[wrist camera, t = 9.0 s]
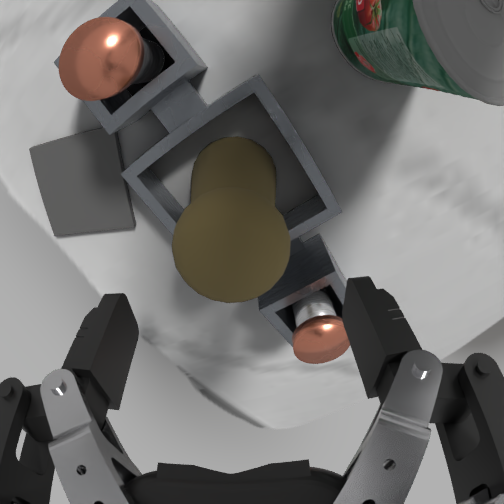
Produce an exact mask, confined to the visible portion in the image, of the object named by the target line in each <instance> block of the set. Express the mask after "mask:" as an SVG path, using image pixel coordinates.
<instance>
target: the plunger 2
mask: <svg viewBox="0 0 504 504" xmlns="http://www.w3.org/2000/svg"><path fill="white" fill-rule="evenodd" d="M292 306H293V311H294V316H295V321H296V326H297V328H296V329H295V331H294V332H293V335H292V344H293V350H294V354H295V356H296V357H297V358H298V359H299V360H301V361H303V362H306V363H311V364H318V363H325V362H328V361H331V360H334V359H336V358H338V357H339V356H341V355H342V354H343V353H344V352H345V351H346V350H347V349H348V348H349V346H350V342H349V340H348V337H347V334H346V331H345V328H344V325H343V319H342V318H340V317H338V316H336V313H335V310H334V307H333V305H332V302H331V299H330V296H329V293H328V290H327V287H326V286H325V287H324V288H322V289H320V290H318V291H316V292H314V293H312V294H310V295H308V296H306V297H304V298H302V299H300V300H298V301H296V302H294V303H292Z"/></svg>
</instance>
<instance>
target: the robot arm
mask: <svg viewBox="0 0 504 504" xmlns="http://www.w3.org/2000/svg"><path fill="white" fill-rule="evenodd" d="M342 318H343V325H344V328H345V331H346V334H347V337H348V340H349V342H350V345H351V348H352V351H353V354H354V357H355V360H356V363H357V366H358V369H359V372H360V375H361V378H362V381H363V384H364V387H365V391H366V394H367V397H368V399H369V398H373V397H379V400H380V403H381V404H380V406H379V408H378V410H377V412H376V414H375V417H374V419H373V421H372V423H371V425H370V427H369V429H368V431H367V433H366V435H365V437H364V439H363V441H362V443H361V445H360V447H359V449H358V450H357V452H356V454H355V456H354V457H353V459H352V461H351V462H350V464H349V466H348V468H347V469H346V471H345V473H344V475H343V476H341V475H339V474H337V473H335V472H332V471H328V470H325V469H320V468H315V467H310V466H309V460H301V461H292V462H283V463H272V464H268V465H264V466H261V467H258V468H254V469H251V470H247V471H243V472H239V473H235V474H227V473H222V472H218V471H214V470H210V469H206V468H202V467H198V466H195V465H181V464H166V463H158V467H157V471H153V472H149V473H146V474H143V475H142V474H141V472H140V471H139V470H138V468H137V467H136V466H135V465H134V463H133V462H132V461H131V460H130V458H129V457H128V455H127V453H126V452H125V450H124V448H123V446H122V445H121V443H120V441H119V439H118V437H117V435H116V433H115V431H114V430H113V427H112V425H111V424H110V422H109V420H108V418H107V417H106V414H107V410H108V409H114V410H119V407H120V404H121V400H122V395H123V392H124V387H125V384H126V380H127V376H128V373H129V369H130V365H131V362H132V358H133V355H134V351H135V348H136V344H137V341H138V335H139V330H138V324H137V322H136V319H135V317H134V314H133V312H132V309H131V306H130V304H129V301H128V299H127V296H126V295H125V294H124V293H119V294H105V295H104V296H103V298H102V300H101V302H100V304H99V306H98V308H93V309H92V310H91V311H90V312H89V313H88V314H87V316H85V318H84V320H83V322H82V324H81V327H80V330H79V331H78V333H77V335H76V338H75V340H74V341H73V344H72V346H71V348H70V350H69V353H68V355H67V357H66V359H65V361H64V364H63V366H62V368H61V369H58V370H54V371H52V372H51V373H49V374H48V375H47V376H46V377H45V378H44V380H43V381H42V384H39V385H33V386H28V387H25V386H24V385H23V384H22V383H21V381H20V380H19V379H17V378H8V379H6V380H4V381H3V382H1V384H0V504H49V501H50V493H51V486H52V481H53V475H54V469H55V468H56V471H57V474H58V476H59V479H60V481H61V483H62V486H63V488H64V491H65V493H66V495H67V498H68V500H69V502H70V504H404V501H405V499H406V497H407V495H408V492H409V490H410V488H411V486H412V484H413V481H414V479H415V476H416V474H417V472H418V469H419V466H420V464H421V461H422V459H423V456H424V453H425V450H426V448H427V445H428V442H429V439H430V435H431V429H429V428H428V425H429V423H435V424H436V428H437V431H438V434H439V437H440V441H441V444H442V448H443V451H444V455H445V458H446V462H447V466H448V469H449V473H450V477H451V481H452V485H453V490H454V494H455V499H456V503H457V504H504V377H503V375H502V373H501V371H500V369H499V367H498V365H497V363H496V362H495V361H494V359H492V358H491V357H490V356H488V355H486V354H483V353H474V354H472V355H470V356H469V357H468V358H467V360H466V361H465V363H464V364H452V363H451V364H450V363H441V362H440V360H439V359H438V358H437V357H436V356H435V355H434V354H432V353H430V352H428V351H425V350H422V348H421V346H420V344H419V343H418V341H417V339H416V337H415V335H414V333H413V331H412V329H411V327H410V326H409V324H408V322H407V320H406V318H404V315H403V313H402V311H401V310H400V309H399V306H398V304H397V302H396V301H395V299H394V297H393V296H392V295H390V294H389V293H388V292H387V291H385V290H384V289H376V287H375V285H374V283H373V281H372V280H371V278H370V277H369V276H366V277H356V278H349V279H348V280H347V285H346V292H345V298H344V304H343V311H342ZM22 429H23V430H24V431H25V432H26V437H25V440H24V444H23V448H22V452H21V456H20V460H19V461H18V460H17V457H16V447H17V443H18V440H19V436H20V433H21V430H22Z"/></svg>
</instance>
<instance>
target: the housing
mask: <svg viewBox="0 0 504 504" xmlns="http://www.w3.org/2000/svg"><path fill="white" fill-rule="evenodd" d="M100 17H112V18H116V19H119V20H122V21H124V22H127V23H129V24H131V25H132V26H133V27H134V28H135V29H136V30H137V31H138V32H139V31H141V30H142V29H143V28H145V27H146V26H147V27H148V29H149V30H150V31H151V32H152V33H153V35H154V36H155V37H156V38H157V40H158V41H159V42H160V43H161V45H162V46H163V47H164V48H165V50H166V51H167V52H168V53H169V55H170V56H171V57H172V58H173V60H174V61H175V62H176V63H174V64H173V65H171V66H170V67H169V68H167V69H166V70H165V71H163V72H162V73H161V74H160V75H158V76H157V77H156V78H154V79H153V80H152V81H151V82H149V83H148V84H147V85H146V86H144V87H143V88H142V89H141V90H140V91H138V92H137V93H136V94H135V95H134V96H132V95H131V94H130V93H129V92H128V90H127V89H125V90H124V91H122V92H121V93H119V94H117V95H115V96H112V97H109V98H105V99H101V100H96V101H85V100H83V102H84V103H85V104H86V106H87V107H88V108H89V109H90V111H91V112H92V113H93V115H94V116H95V117H96V118H97V120H98V121H99V122H100V123H101V125H102V126H103V127H104V128H105V130H106V131H107V132H108V134H109V135H111V134H113V133H115V132H116V131H118V130H120V129H122V128H124V127H126V126H128V125H130V124H132V123H134V122H136V121H137V120H139V119H140V118H141V117H142V116H143V115H145V114H146V113H147V112H148V111H149V110H152V111H153V113H154V114H155V115H156V116H157V118H158V119H159V120H160V122H161V123H162V124H163V125H164V127H165V128H166V129H167V131H168V132H169V134H168V135H167V136H165V137H164V138H163V139H161V140H160V141H159V142H158V143H156V144H155V145H154V146H153V147H151V148H150V149H149V150H148V151H146V152H145V153H144V154H143V155H142V156H140V157H139V158H138V159H137V160H136V161H134V162H133V163H132V164H131V165H130V166H129V167H128V168H127V169H126V170H125V171H124V172H122V173H121V175H122V176H123V178H124V179H125V180H126V181H127V182H128V184H129V185H130V186H131V187H132V188H133V190H134V191H135V192H136V193H137V194H138V196H139V197H140V198H141V199H142V200H143V201H144V203H145V204H146V205H147V206H148V207H149V208H150V210H151V211H152V212H153V213H154V214H155V215H156V217H157V218H158V219H159V220H160V221H161V222H162V223H163V225H164V226H165V227H166V228H167V229H168V230H169V231H170V233H171V234H172V235H173V234H174V229H175V226H176V224H177V222H178V220H179V218H180V217H181V215H182V213H183V211H184V209H183V208H182V207H181V206H180V205H179V203H178V202H177V201H176V200H175V199H174V197H173V196H172V195H171V194H170V193H169V191H168V190H167V189H166V188H165V186H164V185H163V184H162V183H161V182H160V180H159V179H158V178H157V177H156V175H155V174H154V173H153V172H152V171H151V169H150V168H149V167H148V166H150V165H151V164H152V163H153V162H155V161H156V160H157V159H159V158H160V157H161V156H162V155H164V154H165V153H166V152H168V151H169V150H170V149H172V148H173V147H174V146H176V145H177V144H178V143H180V142H181V141H182V140H184V139H185V138H186V137H188V136H189V135H191V134H192V133H193V132H195V131H196V130H198V129H199V128H200V127H202V126H203V125H205V124H206V123H208V122H209V121H211V120H212V119H214V118H215V117H217V116H218V115H220V114H221V113H223V112H224V111H226V110H227V109H229V108H230V107H232V106H233V105H235V104H236V103H238V102H240V101H241V100H243V99H244V98H246V97H248V96H249V95H251V94H252V93H255V95H256V96H257V97H258V99H259V100H260V102H261V103H262V105H263V106H264V108H265V109H266V111H267V112H268V114H269V115H270V117H271V118H272V120H273V121H274V123H275V124H276V126H277V127H278V129H279V130H280V132H281V133H282V135H283V137H284V138H285V140H286V141H287V143H288V144H289V146H290V148H291V149H292V151H293V152H294V154H295V156H296V157H297V159H298V160H299V162H300V164H301V165H302V167H303V169H304V170H305V172H306V174H307V175H308V177H309V179H310V180H311V182H312V184H313V185H314V187H315V189H316V190H317V192H318V194H319V195H317V196H316V197H314V198H312V199H310V200H309V201H307V202H305V203H303V204H302V205H300V206H298V207H297V208H295V209H293V210H291V211H290V212H288V213H286V214H284V215H283V218H284V221H285V223H286V226H287V229H288V232H289V235H290V257H289V261H288V264H287V266H286V269H285V271H284V274H283V275H282V276H281V278H280V279H279V280H278V281H277V282H276V283H275V285H274V286H273V287H272V288H271V289H270V290H268V291H267V292H265V293H264V294H262V295H260V296H259V297H258V302H259V311H260V312H261V313H262V314H263V315H264V316H265V317H266V318H267V320H268V321H269V322H270V323H271V324H272V325H273V326H274V327H275V328H276V329H277V330H278V332H279V333H280V334H281V335H282V336H283V337H284V338H285V339H286V340H287V341H288V342H289V343H290V344H291V346H292V347H293V344H292V335H293V332H294V331H295V329H296V328H297V326H296V321H295V316H294V311H293V306H292V303H294V302H296V301H298V300H300V299H302V298H304V297H306V296H308V295H310V294H312V293H314V292H316V291H318V290H320V289H322V288H324V287H325V286H326V287H327V290H328V293H329V296H330V299H331V302H332V305H333V307H334V310H335V313H336V316H338V317H340V318H342V311H343V304H344V298H345V292H346V285H347V280H346V279H345V277H344V275H343V273H342V272H341V270H340V268H339V266H338V265H337V263H336V261H335V259H334V258H333V256H332V254H331V252H330V251H329V249H328V247H327V246H326V244H325V242H324V241H323V239H322V237H321V235H320V234H318V235H316V236H314V237H313V238H311V239H309V240H307V241H305V242H304V243H303V242H302V240H301V239H300V237H299V236H301V235H303V234H304V233H306V232H308V231H310V230H311V229H313V228H315V227H317V226H318V225H320V224H322V223H324V222H326V221H327V220H329V219H331V218H333V217H334V216H336V215H338V214H340V213H341V212H342V210H341V209H340V207H339V205H338V203H337V201H336V199H335V197H334V195H333V194H332V192H331V190H330V188H329V186H328V185H327V183H326V181H325V179H324V177H323V176H322V174H321V172H320V170H319V169H318V167H317V165H316V163H315V162H314V160H313V158H312V157H311V155H310V153H309V152H308V150H307V148H306V147H305V145H304V143H303V142H302V140H301V138H300V137H299V135H298V133H297V132H296V130H295V129H294V127H293V125H292V124H291V122H290V121H289V119H288V118H287V116H286V114H285V113H284V111H283V110H282V108H281V107H280V105H279V104H278V102H277V101H276V99H275V98H274V96H273V95H272V93H271V92H270V90H269V89H268V87H267V86H266V84H265V83H264V81H263V80H262V78H261V77H260V76H259V74H258V75H255V76H253V77H252V78H250V79H248V80H247V81H245V82H243V83H242V84H240V85H239V86H237V87H235V88H234V89H232V90H231V91H229V92H228V93H226V94H225V95H223V96H221V97H220V98H218V99H217V100H215V101H214V102H212V103H211V104H209V105H207V104H206V102H205V101H204V100H203V98H202V97H201V96H200V94H199V93H198V92H197V91H196V89H195V88H194V87H193V85H192V84H191V83H190V81H189V80H190V79H192V78H193V77H195V76H196V75H198V74H199V73H201V72H202V71H203V70H205V69H206V68H208V67H207V66H206V65H205V63H204V62H203V61H202V59H201V58H200V57H199V56H198V54H197V53H196V52H195V50H194V49H193V48H192V47H191V45H190V44H189V43H188V42H187V40H186V39H185V38H184V37H183V35H182V34H181V33H180V32H179V30H178V29H177V28H176V27H175V25H174V24H173V23H172V22H171V21H170V19H169V18H168V17H167V16H166V15H165V13H164V12H163V11H162V10H161V9H160V7H159V6H158V5H157V4H155V3H154V2H153V1H151V0H118V1H117V2H116V3H115V4H114V5H112V6H111V7H110V8H109V9H108V10H106V11H105V12H104V13H103V14H102V15H101V16H100ZM98 18H99V17H98ZM59 59H60V56H59V57H58V58H57V59H56V60H55V62H54V63H55V65H56V66H57V67H58V69H59ZM342 319H343V318H342Z"/></svg>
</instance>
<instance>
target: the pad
mask: <svg viewBox="0 0 504 504" xmlns="http://www.w3.org/2000/svg"><path fill="white" fill-rule="evenodd" d="M29 150H30V154H31V159H32V163H33V167H34V171H35V175H36V178H37V182H38V186H39V189H40V193H41V196H42V199H43V203H44V206H45V209H46V212H47V215H48V218H49V221H50V224H51V227H52V230H53V233H54V235H55V236H59V235H67V234H76V233H84V232H93V231H103V230H112V229H122V228H132V227H135V225H136V221H135V217H134V213H133V209H132V205H131V200H130V196H129V191H128V187H127V182H126V180H125V179H124V178H123V176H122V175H121V173H122V172H124V167H123V162H122V157H121V152H120V146H119V140H118V134H117V131H116V132H115V133H113V134H111V135H109V134H108V132H107V131H106V130H105V128H99V129H95V130H91V131H87V132H83V133H79V134H75V135H71V136H68V137H64V138H61V139H57V140H54V141H50V142H47V143H44V144H41V145H37V146H34V147H32V148H30V149H29Z"/></svg>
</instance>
